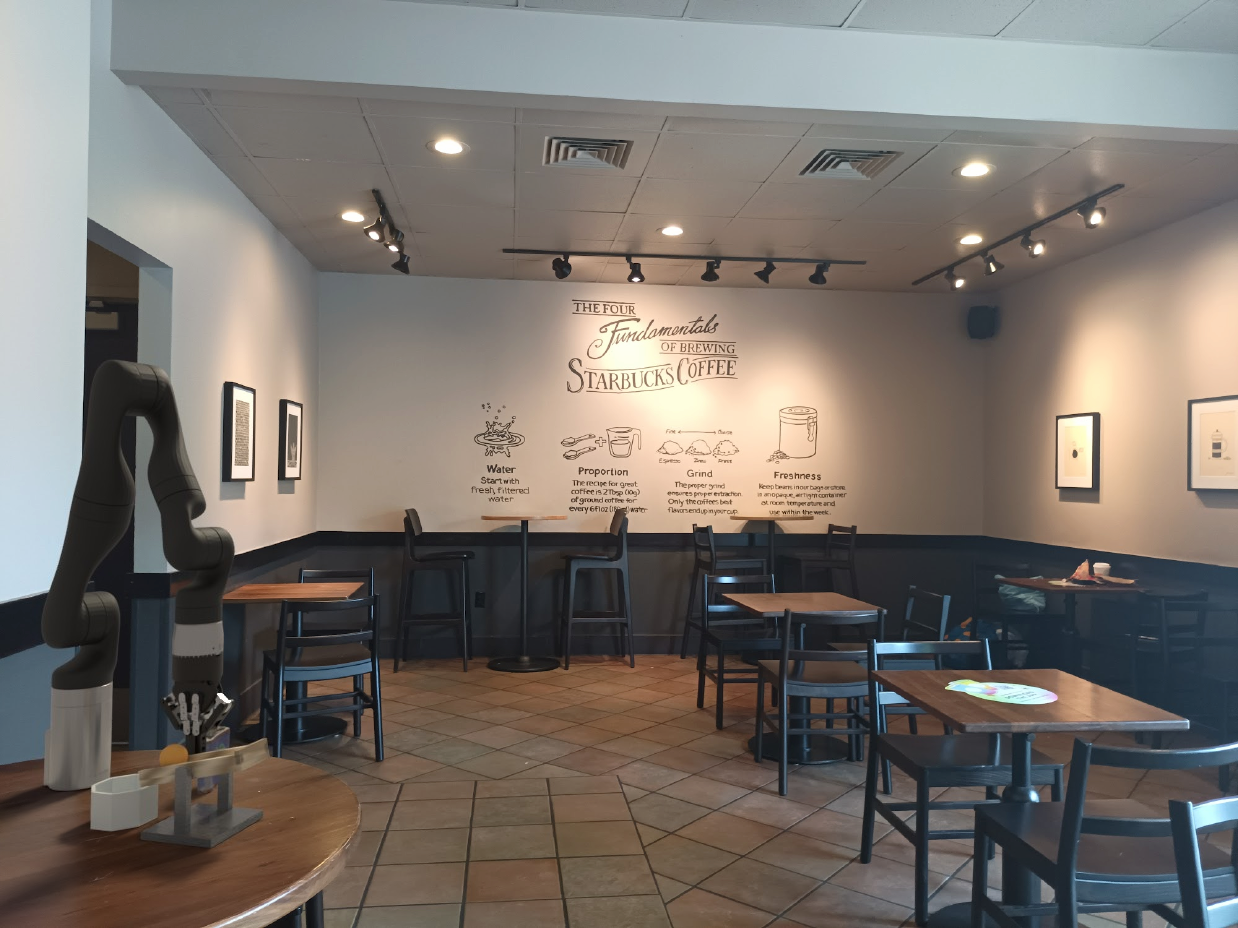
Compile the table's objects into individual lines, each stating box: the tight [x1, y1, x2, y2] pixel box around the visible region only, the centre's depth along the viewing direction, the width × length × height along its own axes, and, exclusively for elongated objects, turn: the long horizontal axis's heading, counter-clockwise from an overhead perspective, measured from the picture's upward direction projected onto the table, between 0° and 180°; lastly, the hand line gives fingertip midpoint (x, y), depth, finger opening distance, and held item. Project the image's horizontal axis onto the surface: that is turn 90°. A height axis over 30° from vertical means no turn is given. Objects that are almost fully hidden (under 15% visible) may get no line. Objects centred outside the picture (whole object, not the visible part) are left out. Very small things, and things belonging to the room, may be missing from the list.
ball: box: [159, 743, 188, 767], centre depth 133 cm, size 4×4×4 cm
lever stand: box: [140, 748, 264, 849], centre depth 132 cm, size 12×12×11 cm
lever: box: [137, 737, 271, 787], centre depth 135 cm, size 18×14×3 cm
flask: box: [196, 726, 231, 795], centre depth 151 cm, size 9×3×11 cm, turn 2°
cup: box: [89, 773, 160, 832], centre depth 135 cm, size 9×9×6 cm
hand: (195, 756), depth 140 cm, fingers closed
